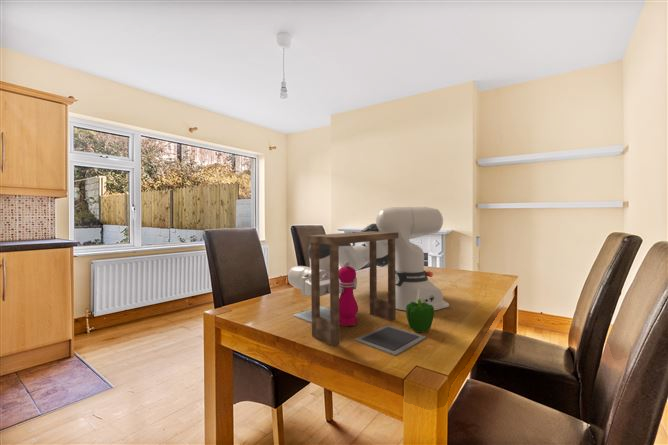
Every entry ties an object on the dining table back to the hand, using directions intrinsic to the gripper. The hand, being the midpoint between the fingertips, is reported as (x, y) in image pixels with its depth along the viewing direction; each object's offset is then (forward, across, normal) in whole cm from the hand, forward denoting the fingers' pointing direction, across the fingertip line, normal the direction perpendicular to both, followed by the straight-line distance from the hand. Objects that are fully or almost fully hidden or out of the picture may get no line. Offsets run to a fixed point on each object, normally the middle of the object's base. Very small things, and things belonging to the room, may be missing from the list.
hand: (348, 288), depth 99 cm
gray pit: (+16, 0, -12) cm, 20 cm away
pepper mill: (-1, 0, -12) cm, 12 cm away
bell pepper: (+18, -13, -12) cm, 25 cm away
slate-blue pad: (-14, 0, -12) cm, 19 cm away
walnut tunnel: (+3, 0, -12) cm, 12 cm away
